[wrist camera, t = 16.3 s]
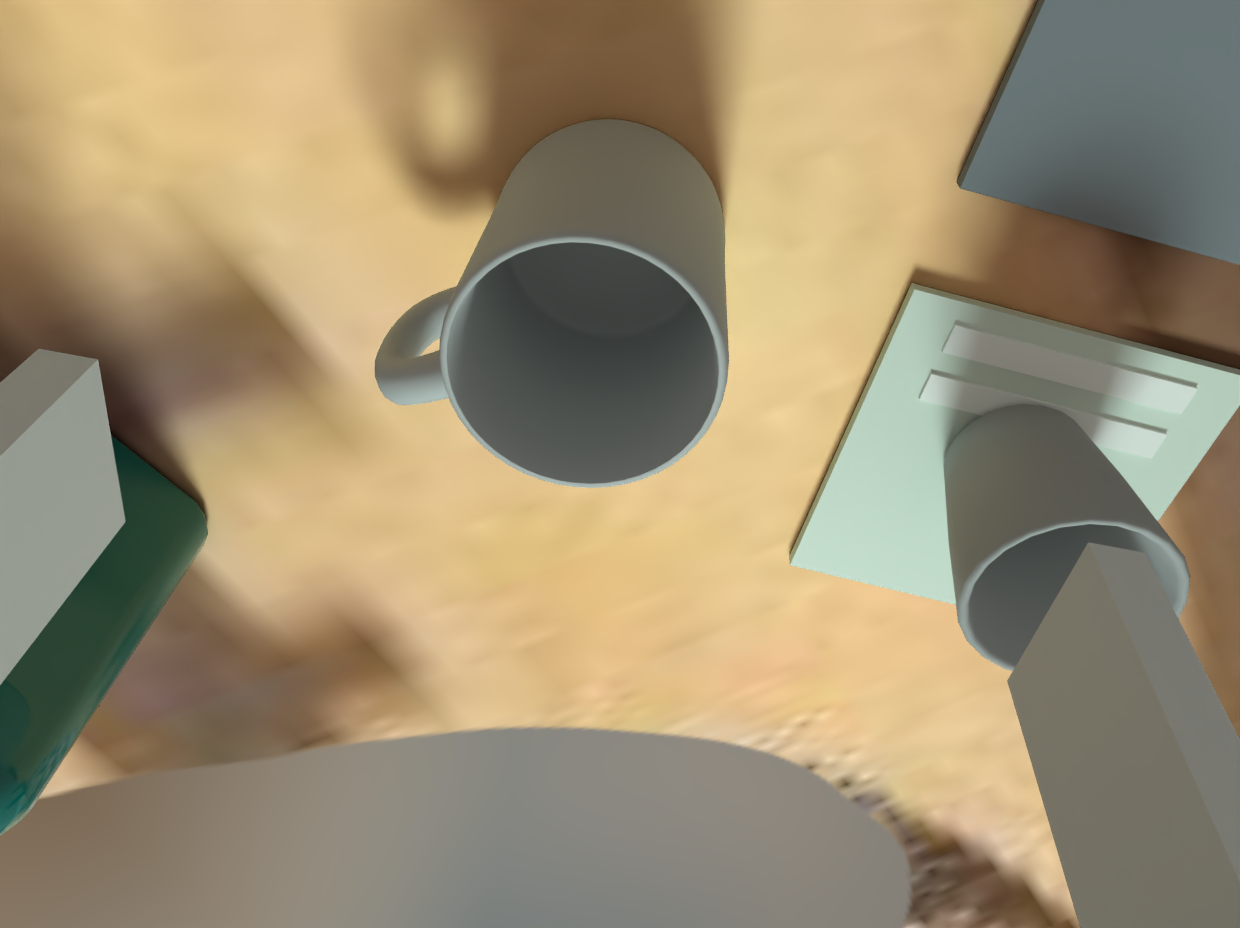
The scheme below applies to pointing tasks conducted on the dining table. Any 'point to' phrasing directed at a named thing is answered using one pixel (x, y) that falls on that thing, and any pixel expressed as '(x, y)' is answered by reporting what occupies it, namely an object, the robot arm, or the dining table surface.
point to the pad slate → (1122, 121)
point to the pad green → (978, 384)
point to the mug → (581, 312)
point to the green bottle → (94, 632)
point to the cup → (1036, 523)
